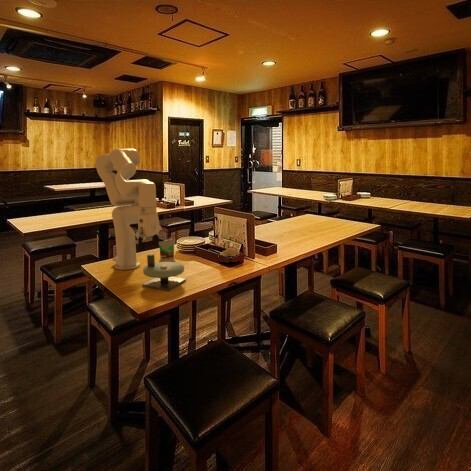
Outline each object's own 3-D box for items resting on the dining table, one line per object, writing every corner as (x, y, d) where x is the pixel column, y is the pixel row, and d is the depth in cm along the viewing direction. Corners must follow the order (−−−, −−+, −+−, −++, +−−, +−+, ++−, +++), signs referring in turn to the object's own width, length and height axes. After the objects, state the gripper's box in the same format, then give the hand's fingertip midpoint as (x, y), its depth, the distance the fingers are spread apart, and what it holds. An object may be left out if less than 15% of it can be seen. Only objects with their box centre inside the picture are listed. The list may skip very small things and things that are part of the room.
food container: (168, 260, 201) (168, 242, 199) (159, 259, 203) (158, 241, 201) (179, 254, 212) (179, 237, 210) (170, 253, 214) (169, 236, 212)
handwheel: (191, 268, 169) (191, 254, 167) (168, 280, 153) (167, 265, 152) (159, 262, 177) (159, 249, 175) (134, 274, 161) (133, 259, 159)
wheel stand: (142, 286, 163) (141, 274, 161) (160, 276, 175) (160, 265, 174) (168, 291, 157) (168, 278, 156) (185, 280, 170) (185, 269, 168)
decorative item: (237, 250, 206) (242, 247, 197) (237, 265, 204) (242, 263, 195) (216, 249, 203) (220, 245, 193) (216, 264, 201) (220, 262, 192)
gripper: (142, 214, 152) (144, 253, 157) (166, 207, 168) (167, 243, 172) (127, 212, 155) (130, 251, 160) (152, 206, 171) (153, 241, 175)
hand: (149, 247), depth 166 cm, fingers open, 9 cm apart
